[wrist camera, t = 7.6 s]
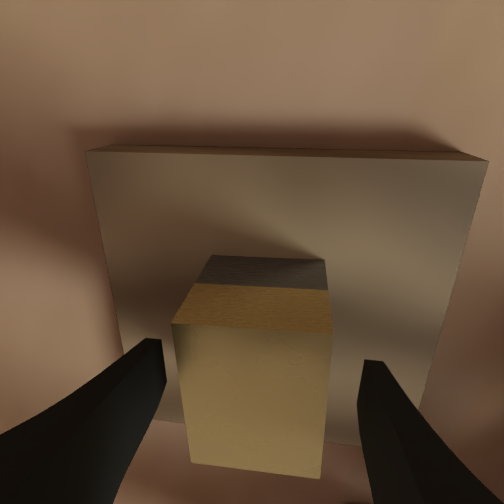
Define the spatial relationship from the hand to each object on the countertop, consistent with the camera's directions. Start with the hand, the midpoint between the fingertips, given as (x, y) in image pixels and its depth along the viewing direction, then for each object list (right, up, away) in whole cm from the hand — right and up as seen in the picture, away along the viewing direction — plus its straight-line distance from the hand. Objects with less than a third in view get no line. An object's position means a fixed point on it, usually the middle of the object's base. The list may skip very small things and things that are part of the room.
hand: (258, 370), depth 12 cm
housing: (0, +1, +3) cm, 3 cm away
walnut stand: (+1, +2, +4) cm, 5 cm away
